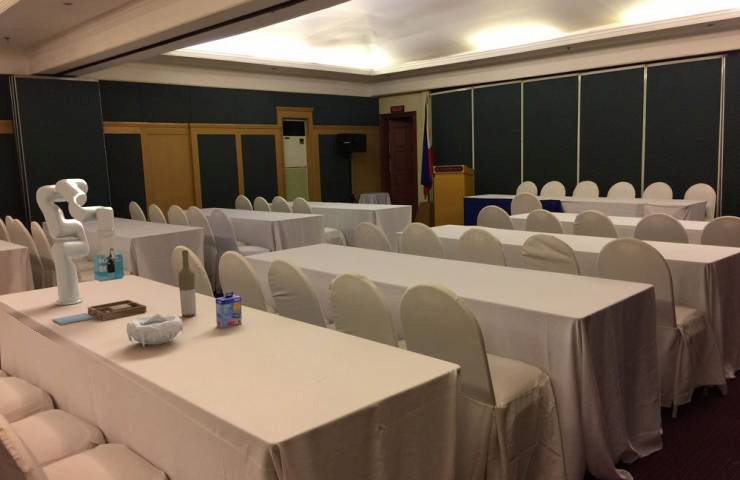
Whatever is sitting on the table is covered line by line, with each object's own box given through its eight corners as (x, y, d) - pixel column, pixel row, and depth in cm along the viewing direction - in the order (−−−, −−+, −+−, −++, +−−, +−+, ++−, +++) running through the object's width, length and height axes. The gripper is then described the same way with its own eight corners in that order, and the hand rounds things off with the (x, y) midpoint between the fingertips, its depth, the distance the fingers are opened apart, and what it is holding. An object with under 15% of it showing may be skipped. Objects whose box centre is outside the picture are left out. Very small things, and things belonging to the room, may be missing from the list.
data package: (98, 282, 273) (96, 256, 271) (94, 280, 276) (92, 255, 274) (124, 278, 281) (122, 253, 279) (120, 277, 284) (118, 252, 283)
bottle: (178, 315, 268) (173, 250, 264) (192, 312, 273) (188, 249, 269) (185, 318, 263) (181, 252, 259) (199, 315, 268) (196, 250, 264)
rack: (88, 313, 276) (87, 307, 276) (129, 305, 290) (128, 299, 290) (103, 320, 263) (103, 314, 262) (146, 312, 276) (146, 305, 276)
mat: (52, 320, 265) (52, 319, 265) (85, 314, 274) (84, 313, 274) (61, 325, 256) (61, 324, 256) (94, 318, 266) (94, 317, 266)
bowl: (128, 339, 234) (126, 314, 232) (182, 333, 241) (180, 309, 239) (127, 354, 214) (125, 328, 213) (185, 347, 222) (183, 321, 220)
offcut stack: (106, 315, 273) (105, 307, 272) (128, 311, 279) (127, 303, 279) (111, 318, 267) (110, 310, 267) (133, 314, 274) (132, 306, 273)
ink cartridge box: (223, 328, 246) (221, 294, 244) (215, 326, 250) (214, 293, 248) (243, 323, 253) (241, 290, 251) (235, 321, 257) (234, 289, 255)
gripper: (91, 232, 279) (94, 270, 281) (105, 235, 267) (108, 275, 269) (107, 231, 284) (110, 268, 286) (121, 234, 272) (124, 272, 275)
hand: (109, 271), depth 278 cm, fingers closed on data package, 4 cm apart
